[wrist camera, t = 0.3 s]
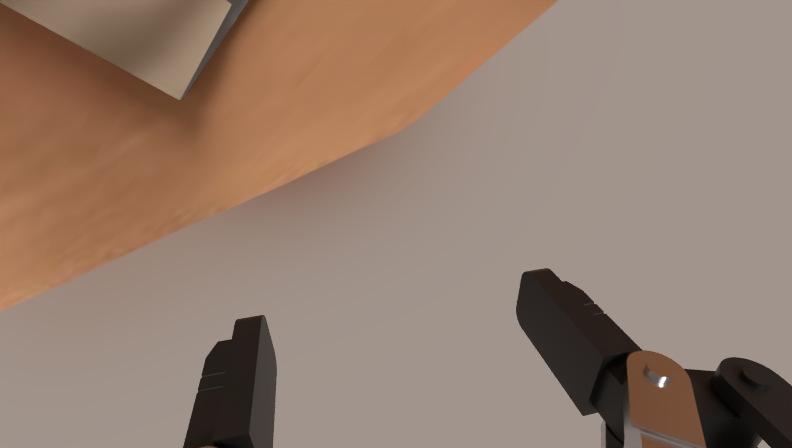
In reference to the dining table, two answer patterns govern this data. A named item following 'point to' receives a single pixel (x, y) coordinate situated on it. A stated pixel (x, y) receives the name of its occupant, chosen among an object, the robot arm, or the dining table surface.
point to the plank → (136, 33)
